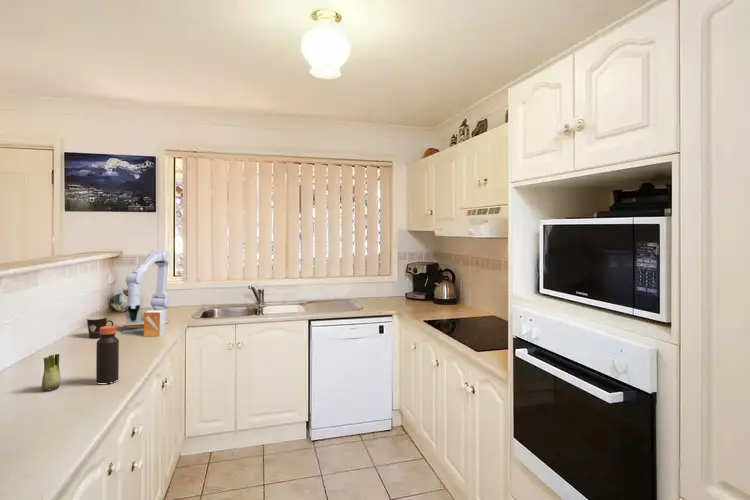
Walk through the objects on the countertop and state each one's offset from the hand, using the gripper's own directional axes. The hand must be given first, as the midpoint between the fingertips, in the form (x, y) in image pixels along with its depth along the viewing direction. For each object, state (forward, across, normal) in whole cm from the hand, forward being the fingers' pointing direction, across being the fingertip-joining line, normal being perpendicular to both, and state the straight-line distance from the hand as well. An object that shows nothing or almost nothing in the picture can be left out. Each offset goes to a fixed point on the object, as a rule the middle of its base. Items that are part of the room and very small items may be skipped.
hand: (133, 319), depth 223 cm
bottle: (+7, +84, -4) cm, 84 cm away
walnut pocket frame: (+6, -9, 0) cm, 11 cm away
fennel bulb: (+7, +84, -20) cm, 87 cm away
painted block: (+2, 0, 0) cm, 2 cm away
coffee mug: (+7, +8, -15) cm, 19 cm away
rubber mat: (+7, 0, 0) cm, 7 cm away
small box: (+7, +14, +10) cm, 18 cm away
